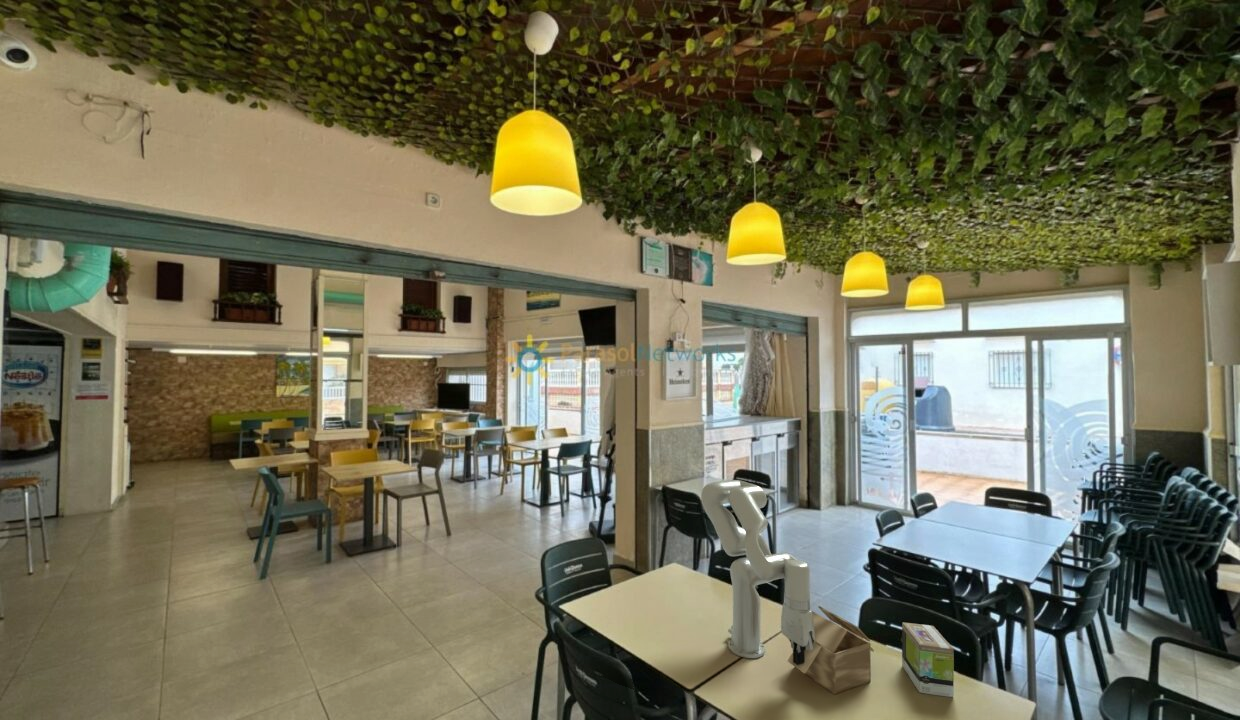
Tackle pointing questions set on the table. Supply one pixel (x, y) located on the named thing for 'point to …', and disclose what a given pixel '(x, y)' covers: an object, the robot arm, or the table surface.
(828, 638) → the near flap
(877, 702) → the table surface
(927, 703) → the table surface
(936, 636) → the tea box
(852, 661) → the carton
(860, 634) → the far flap
